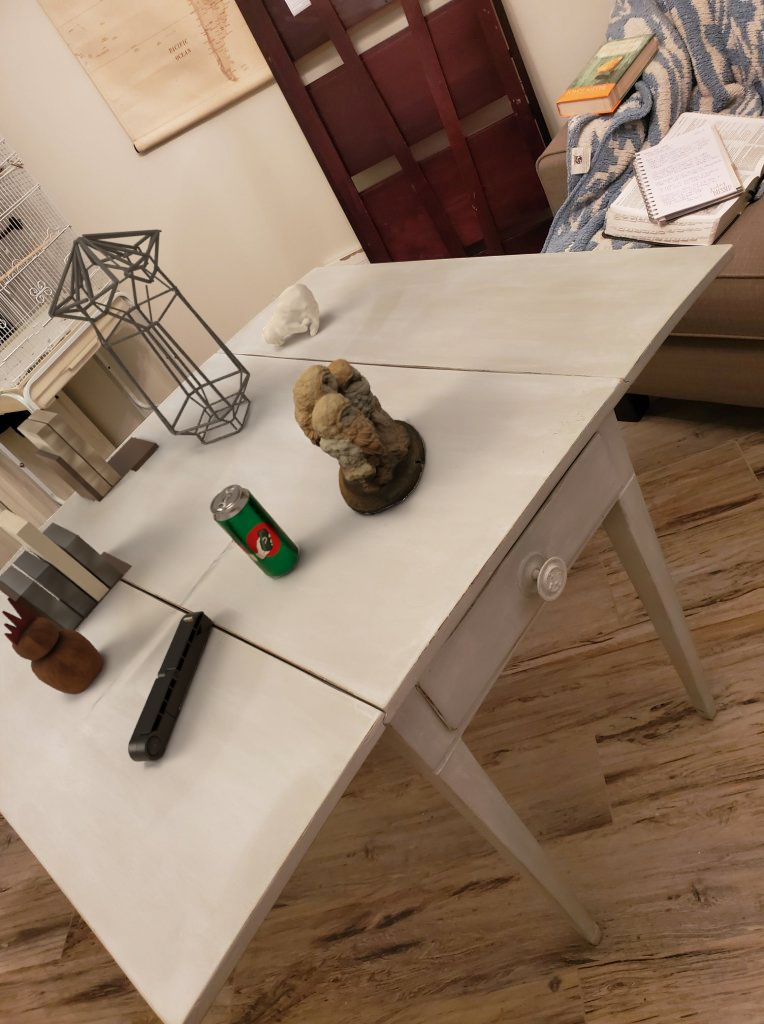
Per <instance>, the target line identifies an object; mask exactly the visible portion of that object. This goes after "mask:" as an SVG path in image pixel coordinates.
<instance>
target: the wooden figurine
mask: <svg viewBox="0 0 764 1024" xmlns="http://www.w3.org/2000/svg"><path fill="white" fill-rule="evenodd" d="M7 601H8V602H9V604H10V606H12V608H13V610H14V611H15V612H16V613H17V615H18V616H19V617H18V616H17V615H14V614H12V613H10V612H8V611H5V610H2V615H4V616H5V618H6V619H8V620H9V621H10V622H11V623H12V624H13V625H12V624H9V623H6V622H4V624H3V626H4V627H5V628H6V629H7V630H8V631H9V632H4V634H3V635H4V636H5V637H6V638H7V640H8V641H9V642H10V643H11V648H12V649H13V651H14V652H15V653H16V654H17V655H18V656H19V657H20V658H22V659H24V660H28V661H30V668H31V672H32V673H33V674H34V675H35V676H36V677H37V679H38V680H39V681H41V682H42V683H44V684H45V685H47V686H48V687H50V688H52V689H54V690H55V691H59V692H61V693H64V694H69V695H77V694H81V693H83V692H84V691H85V690H87V689H88V688H89V687H90V686H91V685H92V684H93V683H94V681H95V680H96V679H98V677H99V676H100V674H101V672H102V671H103V668H104V664H105V663H104V658H103V656H102V654H101V652H100V651H99V650H98V649H97V648H96V647H95V645H94V644H93V643H92V642H91V641H90V640H89V639H88V638H87V637H86V636H84V635H83V634H82V633H81V632H79V631H78V630H68V629H67V630H60V631H58V630H57V628H56V626H55V625H54V624H53V623H52V622H51V621H49V620H48V619H45V618H42V617H38V618H36V617H35V616H34V615H33V614H31V613H30V612H29V611H28V610H26V609H25V608H23V607H22V606H21V605H19V604H18V603H17V602H15V601H14V600H13V599H11V598H9V597H7Z"/></svg>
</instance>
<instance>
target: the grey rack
mask: <svg viewBox="0 0 764 1024" xmlns="http://www.w3.org/2000/svg"><path fill="white" fill-rule="evenodd" d="M42 533H43V534H44V535H45V536H47V537H48V538H49V539H50V540H51V541H53V542H54V543H55V544H56V545H57V546H59V547H60V548H61V549H62V550H63V551H64V552H66V553H67V554H68V555H69V556H70V557H72V558H73V559H74V560H75V561H76V562H78V563H79V564H80V565H81V566H82V567H84V568H85V569H86V570H87V571H88V572H89V573H91V574H92V575H93V576H94V577H95V578H97V579H98V580H99V581H100V582H101V583H103V584H104V585H105V586H106V587H107V588H108V589H109V591H108V592H107V593H106V594H105V595H104V596H103V597H102V599H101V600H100V601H99V602H98V601H97V600H95V599H93V598H92V597H90V596H89V595H87V594H85V593H84V592H82V591H81V590H80V589H78V588H77V587H76V586H75V585H74V584H72V583H71V582H70V581H69V580H67V579H66V578H65V577H64V576H62V575H61V574H60V573H59V572H58V571H56V570H55V569H54V568H53V567H51V566H50V565H49V564H47V563H45V562H44V561H42V560H41V559H40V558H38V557H37V556H36V555H35V554H33V553H32V552H30V551H29V550H26V549H25V550H24V551H23V552H22V553H21V554H20V555H19V556H18V557H17V558H16V559H15V560H14V561H13V562H12V565H10V566H8V568H7V569H5V571H4V572H3V573H2V574H1V575H0V592H2V593H3V594H4V595H5V596H6V597H7V598H11V599H13V600H14V601H15V602H17V603H18V604H19V605H21V606H22V607H23V608H25V609H26V610H28V611H29V612H30V613H31V614H33V615H34V616H35V617H36V618H38V617H42V618H45V619H48V620H49V621H51V622H52V623H53V624H54V625H55V626H56V628H57V630H58V631H60V630H67V629H68V630H75V631H77V629H78V628H79V627H80V626H81V625H82V624H83V623H84V621H85V620H86V619H87V618H89V616H90V615H91V613H93V612H94V610H95V609H96V608H97V606H98V605H100V603H101V602H102V601H103V600H104V599H105V598H106V597H107V595H108V594H110V592H112V590H113V589H114V587H116V585H117V584H119V582H120V581H121V580H122V578H123V577H125V575H126V574H127V573H128V572H129V571H130V570H131V568H132V567H133V565H132V564H129V563H128V562H125V561H123V560H122V559H120V558H117V557H116V556H114V555H112V554H109V553H108V552H106V551H103V552H102V553H101V554H100V553H99V552H98V551H97V550H96V549H95V548H93V546H91V545H90V544H89V543H88V542H86V541H85V540H84V538H83V537H81V536H80V535H79V534H77V533H75V532H73V531H71V530H69V529H67V528H65V527H64V526H61V525H59V524H58V523H55V522H51V523H50V524H49V525H48V526H47V527H46V528H45V529H44V530H43V531H42ZM14 566H15V567H14ZM17 568H18V569H17Z"/></svg>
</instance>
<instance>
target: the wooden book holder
mask: <svg viewBox="0 0 764 1024" xmlns="http://www.w3.org/2000/svg"><path fill="white" fill-rule="evenodd" d="M16 429H17V430H18V431H19V432H20V433H21V434H22V435H23V436H24V437H26V438H27V439H28V441H30V442H31V443H32V445H34V446H35V447H36V448H37V449H38V450H37V451H36V452H35V453H34V454H35V455H36V456H37V457H38V458H39V459H40V460H41V461H42V462H43V463H44V464H46V466H47V467H49V468H50V469H51V470H52V471H53V472H54V473H55V474H56V475H57V476H58V477H59V478H61V479H62V480H63V481H64V482H65V484H67V485H68V486H69V487H71V488H72V490H74V491H75V492H76V493H77V494H78V495H79V496H80V497H81V496H82V497H81V498H84V497H85V498H84V499H86V498H87V500H89V501H91V500H92V501H91V502H95V501H97V502H99V503H101V502H102V501H103V499H104V498H105V497H106V496H108V494H109V493H110V492H111V491H112V490H113V489H114V488H115V487H116V486H117V485H118V484H119V483H120V482H121V481H122V479H123V478H125V476H126V475H127V474H128V473H129V472H130V471H132V472H138V470H139V469H140V468H141V467H142V466H143V465H144V464H145V462H146V461H148V460H149V458H150V457H152V455H153V454H155V452H156V451H157V450H158V449H159V448H160V445H159V444H158V443H157V442H154V441H150V440H146V439H141V438H137V437H133V436H131V437H130V438H128V440H127V441H126V442H125V443H124V444H123V445H122V446H121V447H120V448H118V450H117V451H116V452H115V453H114V454H113V455H112V457H110V458H109V459H108V460H107V461H106V460H105V459H104V458H103V457H102V456H101V455H100V454H99V452H97V451H96V450H95V449H94V448H93V447H92V446H91V445H90V443H88V442H87V441H86V440H85V439H84V438H83V436H81V435H80V434H79V433H78V432H77V431H76V430H75V429H74V428H73V427H72V426H71V425H70V424H69V423H68V422H67V421H66V420H65V419H64V418H63V417H62V416H61V415H60V413H58V412H52V411H48V410H43V409H39V408H37V409H36V410H34V412H32V414H30V415H29V416H28V417H27V418H26V419H25V420H24V421H23V422H22V423H21V424H20V425H18V426H17V428H16Z"/></svg>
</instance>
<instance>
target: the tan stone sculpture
mask: <svg viewBox="0 0 764 1024" xmlns="http://www.w3.org/2000/svg"><path fill="white" fill-rule="evenodd" d="M292 392H293V398H292V399H293V404H294V419H295V421H296V423H297V424H298V426H299V428H300V429H301V431H302V432H303V434H304V436H305V437H306V438H307V439H308V440H310V443H311V444H312V445H313V446H316V447H318V448H320V449H321V450H322V452H323V453H325V454H327V455H329V456H330V457H331V458H333V459H336V460H337V462H338V465H339V471H338V486H339V487H338V488H339V491H340V494H341V496H342V499H343V500H344V502H345V504H346V505H347V506H348V507H349V508H350V509H351V510H352V511H354V512H356V513H358V514H360V515H365V514H368V515H375V513H379V512H381V511H384V510H386V509H387V508H390V507H392V506H396V505H398V504H399V503H401V502H403V501H404V500H405V499H406V498H407V497H408V496H409V495H410V494H411V493H412V492H413V491H414V490H415V488H416V487H417V485H418V483H419V481H420V478H421V474H422V473H423V470H424V467H423V465H424V464H425V461H426V449H425V444H424V440H423V438H422V436H421V435H420V433H419V431H418V430H417V429H416V428H415V427H414V426H413V425H412V424H411V423H409V422H407V421H405V420H400V419H394V418H393V417H391V415H390V414H389V413H388V412H387V411H386V410H385V409H384V408H383V407H382V405H381V402H380V400H379V398H378V397H377V395H376V394H374V393H373V392H372V391H371V384H370V382H369V380H368V379H367V377H365V376H364V375H363V374H362V373H361V372H360V371H359V370H358V369H357V368H356V367H354V366H353V365H351V363H349V361H348V360H347V359H343V358H338V359H336V360H333V361H331V362H330V363H329V364H328V365H327V366H326V365H323V364H313V365H310V366H309V367H308V368H307V369H305V370H304V371H303V372H302V373H301V374H300V376H299V378H298V379H297V380H296V382H295V383H294V387H293V389H292ZM418 461H420V462H418ZM415 462H416V463H415ZM418 480H419V481H418ZM417 482H418V483H417ZM416 484H417V485H416ZM415 486H416V487H415ZM414 487H415V488H414ZM413 489H414V490H413ZM412 490H413V491H412ZM411 491H412V492H411ZM410 492H411V493H410ZM409 493H410V494H409ZM408 494H409V495H408ZM406 496H407V497H406ZM404 498H405V499H404ZM403 499H404V500H403Z"/></svg>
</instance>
